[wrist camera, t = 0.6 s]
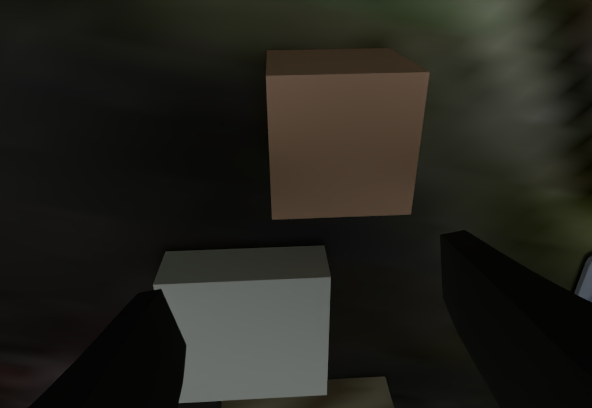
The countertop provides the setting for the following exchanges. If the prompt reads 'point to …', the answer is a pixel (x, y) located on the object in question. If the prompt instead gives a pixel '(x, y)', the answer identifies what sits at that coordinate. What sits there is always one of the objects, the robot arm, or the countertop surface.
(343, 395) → the olive block
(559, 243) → the countertop surface
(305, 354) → the grey block
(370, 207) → the terracotta cube
